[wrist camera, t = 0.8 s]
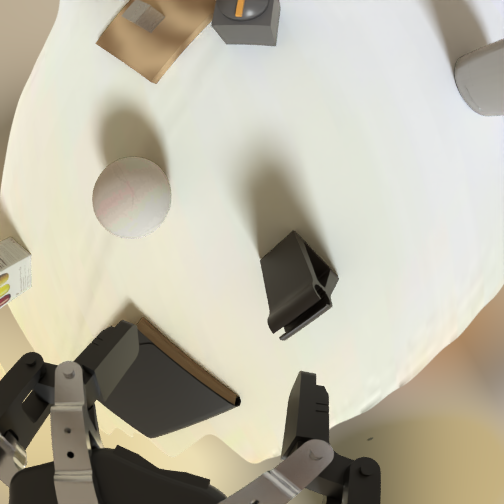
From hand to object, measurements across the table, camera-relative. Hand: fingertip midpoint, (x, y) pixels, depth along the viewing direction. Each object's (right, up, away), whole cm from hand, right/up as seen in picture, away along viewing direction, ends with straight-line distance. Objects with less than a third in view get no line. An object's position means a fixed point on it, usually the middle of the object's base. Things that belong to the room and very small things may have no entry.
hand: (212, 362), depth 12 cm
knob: (+2, +33, +14) cm, 36 cm away
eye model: (-12, +14, +24) cm, 30 cm away
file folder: (-20, -24, +41) cm, 51 cm away
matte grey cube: (-12, +36, +14) cm, 40 cm away
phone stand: (+8, +3, +25) cm, 26 cm away
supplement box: (-50, +3, +35) cm, 61 cm away
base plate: (-11, +37, +15) cm, 41 cm away
